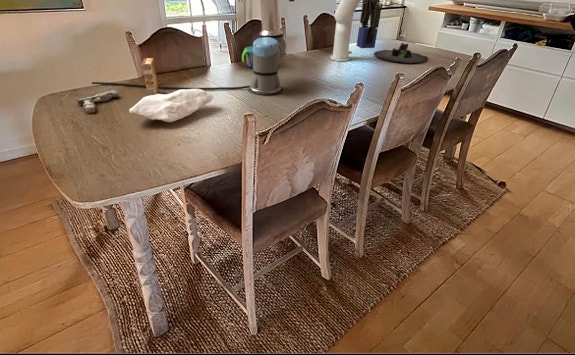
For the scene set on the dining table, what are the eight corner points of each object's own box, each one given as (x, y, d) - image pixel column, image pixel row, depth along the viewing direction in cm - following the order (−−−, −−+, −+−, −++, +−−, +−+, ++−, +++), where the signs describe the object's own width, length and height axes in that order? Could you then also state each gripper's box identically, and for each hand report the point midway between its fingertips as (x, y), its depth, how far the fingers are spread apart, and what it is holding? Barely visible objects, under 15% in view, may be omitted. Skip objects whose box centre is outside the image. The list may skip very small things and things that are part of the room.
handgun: (128, 97, 156) (111, 87, 164) (86, 107, 144) (70, 97, 152) (129, 103, 157) (113, 94, 165) (88, 114, 146) (72, 103, 154)
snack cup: (261, 62, 218) (261, 45, 213) (270, 67, 211) (270, 49, 205) (237, 65, 211) (237, 47, 205) (246, 70, 203) (246, 51, 198)
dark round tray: (438, 59, 239) (441, 44, 234) (403, 65, 221) (405, 50, 217) (397, 50, 264) (399, 37, 259) (362, 56, 246) (363, 42, 242)
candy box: (157, 97, 164) (152, 63, 155) (147, 98, 163) (141, 63, 155) (158, 91, 171) (153, 57, 163) (149, 91, 170) (143, 58, 162)
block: (374, 47, 170) (377, 28, 166) (361, 48, 168) (364, 29, 164) (369, 45, 174) (372, 26, 170) (356, 45, 172) (359, 27, 167)
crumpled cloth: (117, 110, 146) (113, 90, 140) (195, 92, 166) (194, 73, 160) (143, 139, 134) (140, 118, 128) (223, 116, 154) (224, 96, 148)
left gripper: (394, -12, 151) (383, 46, 164) (371, -17, 165) (363, 37, 178) (378, -12, 149) (368, 46, 162) (357, -17, 163) (350, 37, 176)
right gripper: (301, -31, 209) (299, 2, 218) (290, -33, 222) (289, -2, 231) (288, -31, 206) (287, 2, 216) (279, -33, 220) (278, -2, 229)
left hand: (366, 41), depth 170 cm, fingers closed on block, 5 cm apart
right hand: (288, 0), depth 223 cm, fingers open, 9 cm apart
